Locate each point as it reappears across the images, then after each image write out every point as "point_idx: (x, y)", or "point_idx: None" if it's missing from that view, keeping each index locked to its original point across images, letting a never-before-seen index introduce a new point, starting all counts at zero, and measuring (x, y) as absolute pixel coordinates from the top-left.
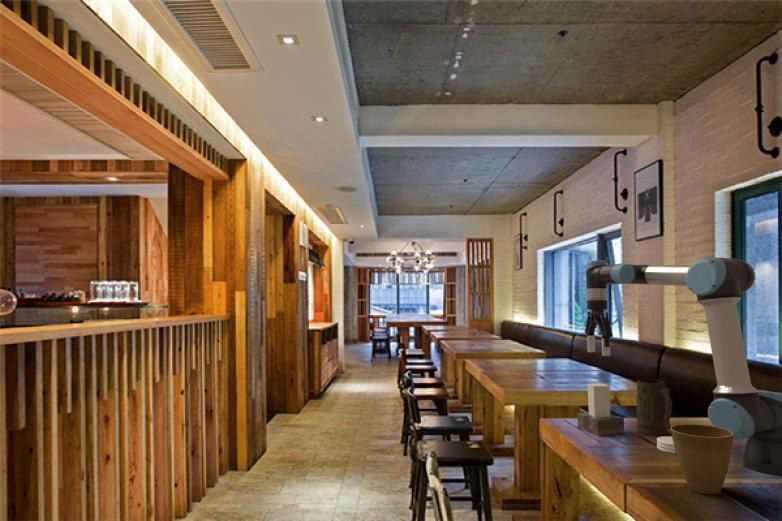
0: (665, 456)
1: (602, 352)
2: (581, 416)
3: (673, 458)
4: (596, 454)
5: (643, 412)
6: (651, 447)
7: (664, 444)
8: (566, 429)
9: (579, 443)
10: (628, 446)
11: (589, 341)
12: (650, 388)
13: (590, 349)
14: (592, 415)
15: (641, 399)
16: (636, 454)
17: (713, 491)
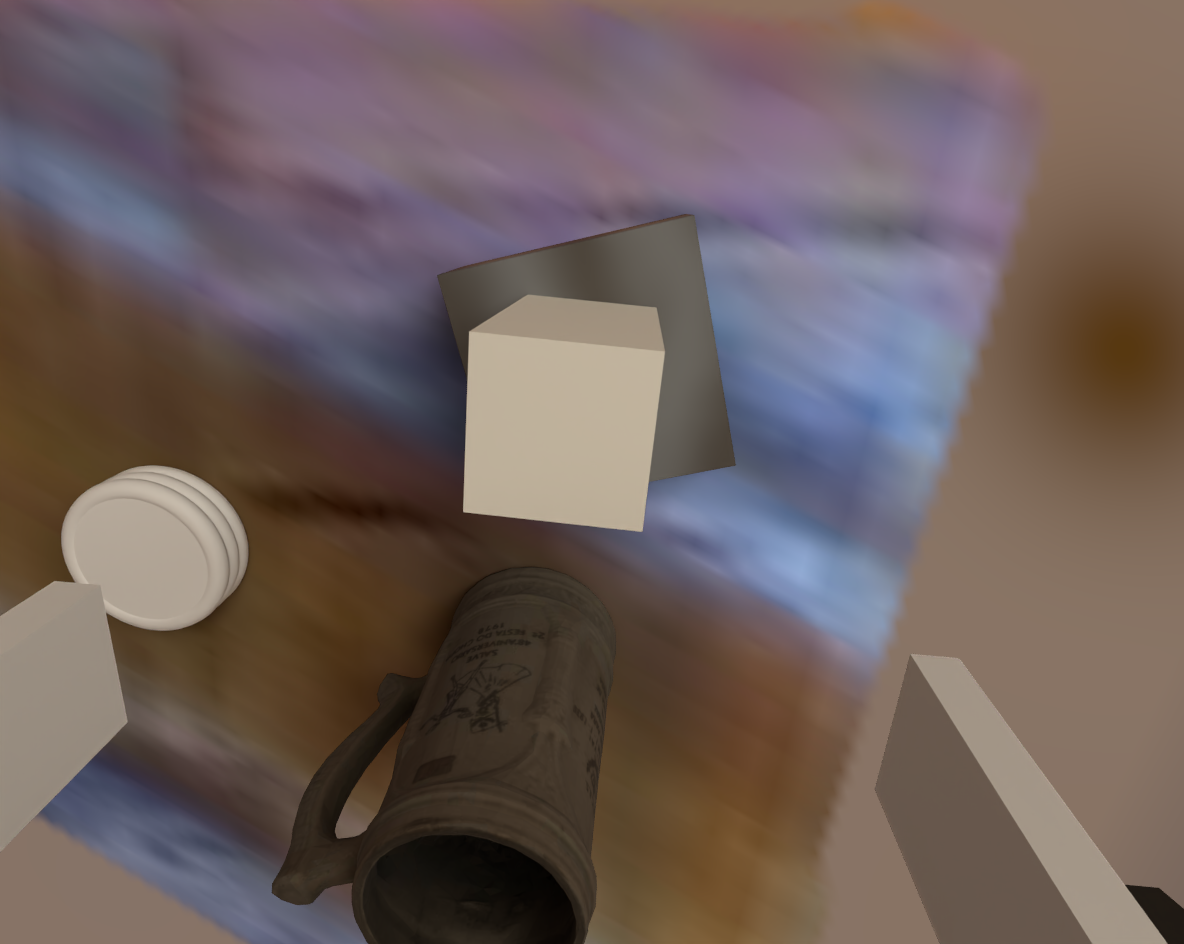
0: (37, 424)
1: (27, 624)
2: (639, 228)
3: (6, 443)
4: (9, 13)
5: (478, 651)
6: (205, 451)
7: (97, 485)
8: (666, 103)
9: (269, 17)
10: (216, 330)
11: (1056, 941)
12: (376, 817)
13: (926, 743)
14: (574, 300)
15: (474, 708)
16: (51, 285)
17: None
